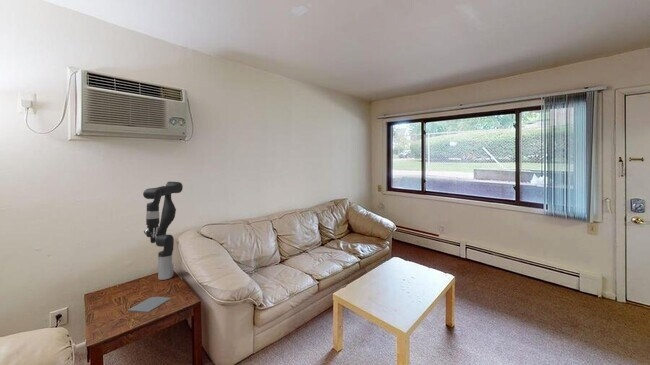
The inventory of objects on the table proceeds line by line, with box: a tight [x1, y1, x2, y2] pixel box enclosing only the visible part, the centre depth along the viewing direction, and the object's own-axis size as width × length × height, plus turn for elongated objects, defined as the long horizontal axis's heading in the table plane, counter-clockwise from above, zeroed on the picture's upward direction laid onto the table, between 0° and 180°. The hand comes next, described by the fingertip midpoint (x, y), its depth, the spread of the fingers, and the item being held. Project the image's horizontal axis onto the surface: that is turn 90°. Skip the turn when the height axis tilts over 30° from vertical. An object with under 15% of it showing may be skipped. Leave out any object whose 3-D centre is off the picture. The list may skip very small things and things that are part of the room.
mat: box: [127, 296, 172, 314], centre depth 157 cm, size 18×14×1 cm
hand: (153, 242), depth 173 cm, fingers closed
